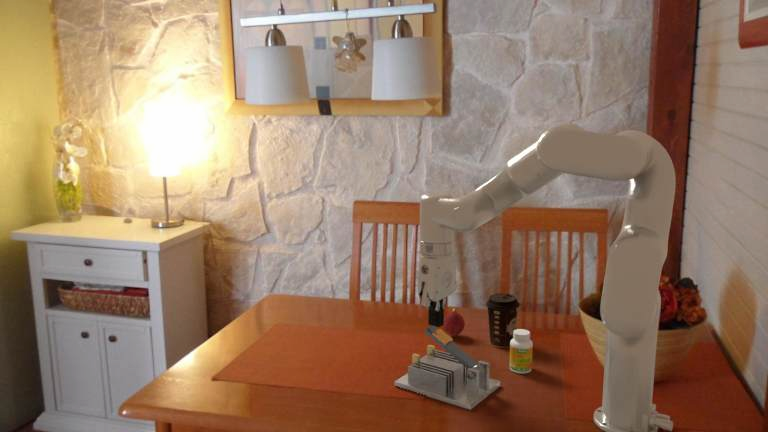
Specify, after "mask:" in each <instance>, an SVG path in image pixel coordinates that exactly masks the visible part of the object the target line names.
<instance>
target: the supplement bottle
mask: <svg viewBox="0 0 768 432" xmlns="http://www.w3.org/2000/svg"><path fill="white" fill-rule="evenodd" d="M513 337H514V338H513V339H512V340H511V341H510V347H509V369H510V371H511V372H513V373H516V374H522V375H524V374H529V373H531V372H532V369H533V348H534V347H533V346H534V345H533V344H534V343H533V341H532V340H531V332H530V331H529V330H528V329H524V328H517V329H515V330H514V331H513Z"/></svg>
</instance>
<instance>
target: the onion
mask: <svg viewBox="0 0 768 432" xmlns="http://www.w3.org/2000/svg"><path fill="white" fill-rule="evenodd" d="M465 323H466V322H465V319H464V317H463V315H462V314H461V313H459V312H458V311H457V309H456V308H453V309H452V310H451V312H449V313H448V314H447V315H446V316H444V325H443V328H444V332H445V333H446V334H447V335H449V336H450V337H451V338H456V337H457V336H459V335H460V334H461V333H462V332H463V331H464V330H465V326H466V324H465Z"/></svg>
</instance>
